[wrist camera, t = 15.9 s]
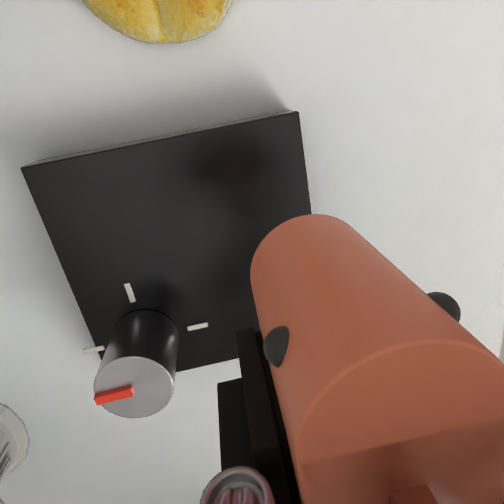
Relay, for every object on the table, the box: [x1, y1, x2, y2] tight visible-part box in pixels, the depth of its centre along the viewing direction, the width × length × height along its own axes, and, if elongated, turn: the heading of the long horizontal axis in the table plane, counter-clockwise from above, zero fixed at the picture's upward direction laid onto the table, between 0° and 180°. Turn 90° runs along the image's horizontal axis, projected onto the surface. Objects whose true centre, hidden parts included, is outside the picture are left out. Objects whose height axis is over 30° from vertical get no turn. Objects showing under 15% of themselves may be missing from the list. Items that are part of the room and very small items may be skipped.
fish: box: [250, 214, 504, 504], centre depth 8 cm, size 8×3×6 cm, turn 10°
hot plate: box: [21, 110, 311, 372], centre depth 26 cm, size 17×17×3 cm
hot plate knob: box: [94, 310, 179, 418], centre depth 24 cm, size 4×4×5 cm
